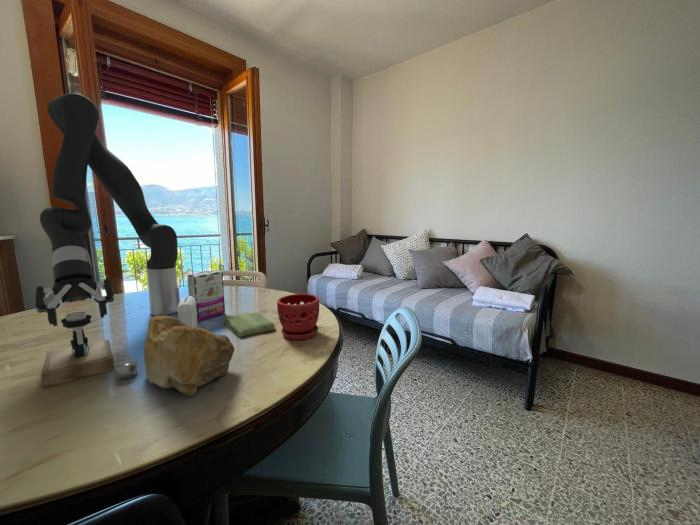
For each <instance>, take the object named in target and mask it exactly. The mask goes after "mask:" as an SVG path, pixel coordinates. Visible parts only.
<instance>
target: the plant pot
mask: <svg viewBox="0 0 700 525" xmlns="http://www.w3.org/2000/svg"><path fill="white" fill-rule="evenodd" d="M276 306H277V309H276V310H277V315H278V319H279V323H280V325H281V327H282V328H281V334H282V335H283V337H285V338H287V339H289V340H296V341H300V340H305V339H309V338H311V337H314V336H315V335H316V334H317V333H318V331H319V326H318V325H317V324H318V323H317V322H318V321H319V314H320V298H319V296H317V295H315V294H309V293H294V294H293V293H292V294H288V295H285V296H282V297H280V298H278V299H277V302H276Z"/></svg>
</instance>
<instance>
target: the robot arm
mask: <svg viewBox="0 0 700 525" xmlns="http://www.w3.org/2000/svg"><path fill="white" fill-rule="evenodd" d="M46 107H47V110H46V111H47V115H48V116H49V119H51V121H52V122H53V124H54V125H55V126H56V128H58V130H60V132H61V133H62V134H63V138H62V144H61V145H60V150H59V151H58V155H57V157H56V160H55V163H54V165H53V166H54V167H53V172H52V180H51V181H52V182H51V196H52V197H53V198H55V199H57V200H60V201H63V202H65V203H69V204H70V205H71V206H73V208H74V209H69V208H62V207H56V206H51V207H46V208H44V209H43V210H42V211H41V212H40V215H39V221H40V225H41V227H42V230H43V231H44V232H45V234H46V235H47V237H48V240H49V241H50V243H51V249H52V259H51V263H52V271H53V272H52V273H53V286H52V287H46V288H44V287H43V286H41V285H40V286H39V285H38V286H37V287H36V290H35V308H36V311H37V312H38V314H39V313H40V314H42V313H47V321H48V324H49V325H53V327H57V326H58V323H59V322H58V315H57V314H58V313H57V310H58V309H59V308H61V307H63V306H64V304H65V303H66V302H68V303H74V302H79V301H80V302H81V301H86V300H90V301H91V302H93V303H96V304H98V309H99V316H100V319H104V318H105V316H107V314H108V309H107V308H108V307H107V304H108V303H112V302H114V297H115V296H114V292H113V288H112V284H111V282H110V279H108V278H105V279H103V281H98V282H97V281H95V279H94V273H93V266H92V265H93V264H92V260H91V257H90V254H89V251H88V243H87V240H86V238H85V236H84V235H86V234H87V233H89V232H90V230H91V228H92V219H91V215H90V212H89V209H88V206H87V200H86V188H87V176H88V167H89V168H90V170H91V171H92V172H93V174H94V175H95V177H96V179H98V180H99V182H100V184H101V185H102V186H103V188H104V189H105V190H106V192H107V193H108V195H109V196H110V197H111V198H112V199H113V201H114V202H115V204H116V205H117V206H118V207H119V209H120V210H121V211H122V213H123V214H124V215H125V217H126V218H127V219H128V221H129V223H130V224H131V226H132V228H133V229H134V231H135V232H136V235H137V236H138V238H139V240H140V241H141V243H142V244H143V245H144V246H146V247H147V248H150V258H149V259H148V260H146V275H147V284H148V285H147V287H148V299H149V311H150V315H152V316H163V315H164V316H168V315H172V314H175V313H178V305H179V303H180V301H181V300H180V288H179V286H178V277H177V267H176V266H177V260H178V253H179V252H178V248H179V247H178V236H177V232H176V231H175V229H174V228H173V227H172V226H170V225H167V224H162V223H161V224H160V223H158V221H157V220H156V219H155V217H154V216H153V215H152V213H151V212H150V210H149V209H148V207H147V204H146V200H145V195H144V192H143V188H142V186H141V185H140V183H139V181H138V179H136V177H135V176H134V174H133V172H132V171H131V169H130V168H129V167H128V166H127V165H126V164H125V163H124V162H123V161H122V160H121V159H120V158H119V157H117V156H116V155H115V154H114V153H113V152H111V150H109V149H108V148H107V147H106V145H105V144H103V143H102V141H101V140H100V139H99V137H98V136H97V134H96V131H97V128H98V123H99V118H100V115H99V111H98V108H97V106H96V105H95V104H94V102H93V101H92V100H91V99H89V98H88V97H87V96H85V95H83V94H80V93H76V92H72V93H71V92H70V93H65V94H62V95H60V96H57V97H55V98H52V99H50V101H49V102H48V103H47V106H46ZM98 288H100V289H101V290H102V291H105V296H103V295H101V294H100V293H99V292H98V291H97V289H98ZM50 294H54V295H55V296H54V297H53V298H52V300H51V301H50V302H49V303H48V304H46V298H48V297H50V296H49V295H50Z"/></svg>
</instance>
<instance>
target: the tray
mask: <svg viewBox="0 0 700 525" xmlns="http://www.w3.org/2000/svg"><path fill="white" fill-rule="evenodd" d="M88 346H89V351H88ZM88 346H87V347H86V348H87V355H86V356H82V357H78V358H76V357H75V352H74V350H73V355H72V346H69V347H65V348H59V349H55V350H49V351H46V354H45V359H44V362H43V367H42V371H41V380H42V381H41V382H42V388H43V389H46V388H49V387H52V386H56V385H57V386H58V385H61V384H65V383H69V382H72V381H76V380H80V379H83V378H88V377H92V376H95V375H100V374H103V373H106V372H112V371H114V370H115V363H114V356H113V351H112V347H111V342H110V339H104V340H100V341H95V342H94V341H93V342H90V343H89V342H88Z"/></svg>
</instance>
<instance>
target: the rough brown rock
mask: <svg viewBox="0 0 700 525" xmlns="http://www.w3.org/2000/svg"><path fill="white" fill-rule="evenodd" d="M148 321H149V322H148V326H147V331H146V338H145V342H144V347H143V350H144V351H143V353H144V358H143V359H144V365H145V367H144V368H145V376H146V379H147V380H148V381H149V383H151V384H155V385H156V386H158V387H160V388H162V389H168V388H169V389H171V388H175V389H176V390H177V391H178V392H180V393H181V394H183V395H185V396H187V397H192V396H194V394H196V393H197V392H198V388H199V387H202V386H205V385H206V384H208V383H209V382H212V380H214V379H215V378H219V377H223V376H225V375H227V374H228V372H229V368H230V367H229V366H230V363H231V360H232V358H233V355H234V352H235V347H234V344H233V343H232V341H231V340H230V338H229V336H227V335H226V334H218V333H214V332H211V331H210V330H209V329H205V328H203V327H195V328H190V327H189V326H186V325H185V324H184V323H182V322H181V321H179V320H178V317H174V316H170V315H169V316H168V315H152V316H151V317H150V318H149V320H148Z"/></svg>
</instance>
